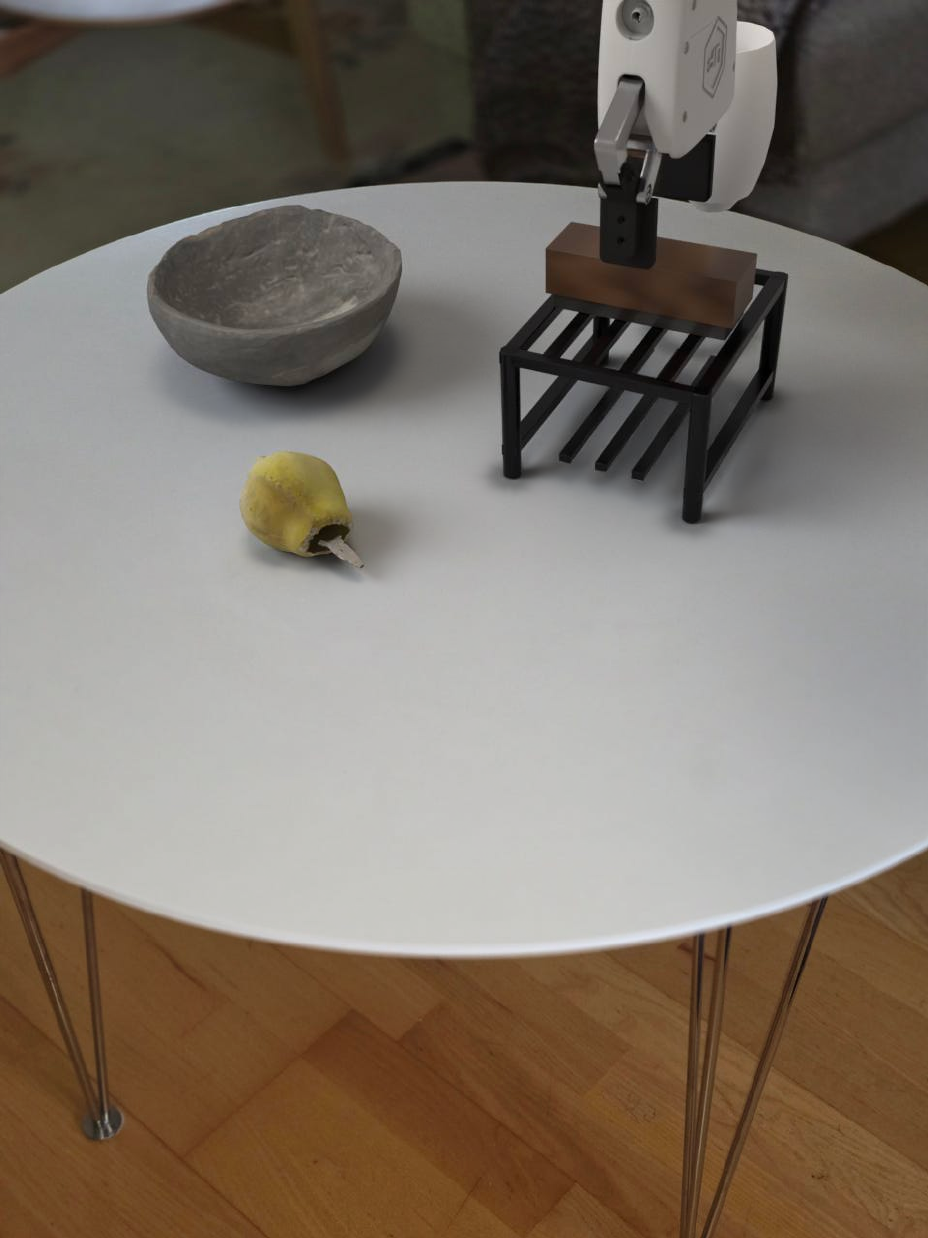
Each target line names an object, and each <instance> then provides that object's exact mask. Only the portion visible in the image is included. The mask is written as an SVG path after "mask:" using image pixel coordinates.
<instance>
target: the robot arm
mask: <svg viewBox="0 0 928 1238" xmlns="http://www.w3.org/2000/svg"><path fill="white" fill-rule="evenodd" d="M737 21H738V0H602V7H601V22H600V36H599V53H598V72H597V73H598V75H597V77H598V78H597V127H598V128H597V129H598V131H597V133H596V135H595V139H594V143H593V152H594V155H595V161H596V165H597V166H596V168H595V173H596V175H595V177H596V179H597V183H598V185H597V197H598V198H599V227H600V252H599V256H600V259H601V260H602V261H603V262H604V263H609V264H615V265H621V266H627V267H633V268H639V269H645V270H648V269H650V268H652V266H653V265H654V264H655V262H656V249H657V236H658V222H659V221H658V220H659V198H658V197H653V193H654V190H655V185H656V182H657V178H658V174H659V191H658V192H659V194H660V195H661V196H662V197H664V198H668V199H669V198H670V199H675V200H676V199H677V200H683V201H688V200H689V201H696V202H707V201H708V200H709V199H710V198H711V196H712V188H713V173H714V159H715V144H716V135H712V134H707V133H708V132H712V133H714V132H715V130H716V127H717V123H718V121H719V120H720V119H721V117H722V116H723V115H724V114H725V113H726V111H727V110H728V109H729V107H730V105H731V103H732V100H733V96H734V86H735V64H736V34H737ZM631 135H639V136H640V135H641V136H649V137H651V139H652V140H646V139H645V140H644V139H637V138H630V136H631ZM628 157H633V158H642V159H644V160H643V165H642V169H641V172H640V174H639V172H638V171H637V169H636V167H635V165H634V164H633V163H632V162H627V161H628V160H627V159H628ZM689 201H688V202H689Z"/></svg>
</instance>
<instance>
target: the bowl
mask: <svg viewBox="0 0 928 1238" xmlns="http://www.w3.org/2000/svg"><path fill="white" fill-rule="evenodd" d="M402 273H403V259H402V252H401V248H399V247H398V246H397V245H396V244H395V243H394V242H392V241H390V240H389V239H388V237H387V236H385V235H384V234H382V233H381V232H380V231H378V230H377V229H376V228H375V227H372V226H371V225H369V224H365V223H364V222H362V221H360V220H358V219H355V218H353V217H349V216H346V215H343V214H340V213H339V214H338V213H333V212H329V211H326V210H323V209H321V208H313V209H311V208H309V207H306V206H303V205H300V204H291V205H289V204H288V205H287V204H286V205H280V206H275V207H271V208H265V209H260V210H258V211H254V212H252V213H250V214H247V215H244V216H239V217H235V218H232V219H229V220H226V221H222V222H221V223H220V224H218V225H217V224H216V225H214V226H210V227H207V228H205V229H204V230H202V231H200V232H199V233H197V234H190V235H187V236H184V237H183V238H181V239H179V240H178V241H176V242H175V243H174V244H173V245H172V246H171V247H169V248H168V249H167V250H166V252H164V254H163V255H162V257H161V260H160V261H159V262H158V263H157V264H156V265H154V267H153V268H152V270H151V271H150V272H149V273H148V277H147V284H146V299H147V305H148V306H147V307H148V310H149V313H150V316H151V319H152V320H153V322H154V324H155V325H156V328H157V329H158V330H159V332H160V333H161V335H162V337H163V338H164V340H165V341H166V342H167V344H168V345H169V346H170V348H171V349H172V350H173V351H174V352H175V353H176V355H177V356H178V357H179V358H181V359H183V360H184V361H185V362H187V363H188V364H189V365H192V366H193V367H194V368H196V369H198V370H201V371H203V372H204V373H207V374H210V375H213V376H215V377H218V378H221V379H225V380H228V381H231V382H232V381H233V382H240V383H249V384H255V385H256V384H257V385H265V386H281V387H293V386H294V387H295V386H301V385H306V384H308V383H310V382H312V381H314V380H317V379H318V378H321V377H323V376H325V375H327V374H329V373H331V372H332V371H334V370H337V369H338V368H340V367H342V366H343V365H346V364H347V363H349V362H351V361H353V360H355V359H356V358H358V357H359V356H360V355H362V354H363V353H364V352H365V351H366V350H367V349H368V348H369V347H370V346H371V345H372V343H374V341H375V339H376V338H377V336H378V335H379V333H380V332H381V331H382V329H383V327H384V325H385V324H386V323H387V321H388V318H389V317H390V316H391V312H392V311H393V307H394V304H395V303H396V299H397V296H398V293H399V288H400V283H401V278H402Z"/></svg>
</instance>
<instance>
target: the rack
mask: <svg viewBox="0 0 928 1238" xmlns="http://www.w3.org/2000/svg"><path fill="white" fill-rule="evenodd" d="M788 283H789V273H786V272H784V271H778V270H776V271H774V270H768V269H763V268H757V267H756V271H755V281H754V286H761V289H760V291H758V294H757V295H756V296H755V298H754V300H753V301H752V303H751V304H749V305H750V306H748V307H747V308H748V309H746V310H745V313H744V314H743V315H742V317H741V318H740V320H739V321H738V323H737V324H736V326H735V327H734V329H733V330H732V332H731V333H730V334H729V336H728V337H727V339H726V340H725V341H724V344H723V345H722V347H721V348H720V350H719V351H718V352H717V354H716V355H714V354H710V355H709V357H708V358H707V360H706V361H705V363H704V364H703V365H702V367H701V369H699V371H698V373H697V374H696V376H695V377H694V379H693V381H691V383H690V384H687V383H682V382H677V380H678V378H679V377H680V375H681V374H682V373H683V371H684V369H686V367H687V365H688V364H689V363H690V361H691V360H692V358H693V357H694V356H695V354H696V352H697V351H698V350H699V348H700V346H701V345H702V344H703V342H704V341H705V340H706V338H707V337H702V336H697V335H692V334H688V335H687V337H686V338H685V339H684V340H683V342H682V343H681V345H680V346H679V348H678V347H677V348H676V349H675V351H674V352H673V353H672V355H671V357H669V359H668V361H667V362H666V363H665V365H664V366H663V367H662V369H660V371H659V373H658V374H657V375H656V377H654V376H650V375H649V376H648V375H644V374H639V372H640V371H641V369H643V367H644V366H645V364H646V363H647V362H648V360H649V359H650V358H651V356H652V355H653V353H654V352H655V350H656V347H657V346H658V344H659V343H660V342H661V341H662V339H663V338H664V336H665V335H666V334H667V333H668V331H669V330H667V329H662V328H657V327H652V326H650V328H649V330H648V331H647V332H646V333H645V335H644V336H643V338H642V339H641V340H640V341H639V343H638V344H637V345H636V346H635V348H634V349H633V350H632V351H631V353H630V354H629V355H628V357H627V358H626V360H624V362H623V363H622V364H621V366H620V367H619V368H618V369H616V368H610V367H607V365H609V363H610V351H611V350H612V348H613V347H614V346H615V344H617V342H618V341H619V339H621V337H622V335H623V334H624V333H625V332H626V331H627V330H628V329H629V327H630V326H631V324H632V323H631V322H626V321H621V320H616V319H613V321H611V318H606V317H601V316H596V315H590V314H585V313H580V312H577V313H576V315H575V316H574V317H573V318H572V319H571V321H570V322H569V323H568V324H567V325H566V326H565V327H564V328H563V330H562V331H561V332H560V333H559V335H557V337H555V339H554V340H553V341H552V342H551V344H549V346H548V347H547V348H546V349H545V351H544V352H543V353H541V352H535V351H530V348H532V346H534V344H535V343H536V342H537V340H538V339H539V338H540V337H541V336H542V335H543V334H544V333H545V331H546V330H547V329H548V328H549V327H550V325H552V323H554V321H555V320H556V319H557V318H558V317H559V315H560V314H561V313H562V312H563V311H564V310H565V309H560V308H555V307H553V294H550V295H549V297H548V298H547V299H546V300H545V301H544V302H543V303H542V304H541V305H540V306H539V308H538V309H537V310H535V312H534V313H533V314H532V315H531V316H530V318H529V319H527V321H526V322H525V323H524V324H523V325H522V326H521V327H520V329H519V330H518V331H517V332H516V333H515V334H514V335H513V336H512V337H511V338H510V339H509V341H508V342H507V343H506V344H505V345H503V346H502V347H500V348H499V351H498V363H499V376H500V377H499V378H500V409H501V410H500V411H501V412H500V413H501V456H502V475H503V477H504V478H506V479H509V480H514V479H518V478H520V477H521V476H522V474H523V472H522V471H523V464H522V457H523V456H522V451H523V450H524V449H525V448H526V446H527V445H528V444H529V442H530V441H532V439H533V437H534V436H535V435H536V434H537V433H538V431H539V430H540V429H541V427H542V426H543V425H544V424H545V423H546V421H547V420H548V419H549V417H550V416H551V415H552V414H553V413H554V412H555V410H556V409H557V408H558V406H559V405H560V403H562V401H563V400H564V399H565V398H566V397H567V395H568V393H570V391H571V390H573V388H574V386H575V385H576V384H577V383H578V381H579V382H584V383H588V384H592V385H597V386H602V387H607V390H606V391H605V392H604V393H603V395H602V396H601V398H600V399H599V400H598V402H597V403H596V404H595V405H594V406H593V408H592V409H591V411H590V412H589V413H588V414H587V416H586V417H585V419H584V420H583V421H582V422H581V424H580V425H579V426H578V428H576V430H575V432H574V433H573V434H572V435H571V437H570V438H569V440H568V441H567V442H566V444H564V446H563V448H562V449H561V450H560V451H559V453H558V462H560V463H564V464H570V465H571V464H572V462H573V461H574V460H575V459H576V457H577V456H578V455H579V453H580V452H581V450H582V449H583V448H584V446H585V445H586V443H587V442H588V441H589V439H590V438H591V437H592V435H593V434H594V433H595V432H596V431H597V430H598V427H599V426H600V425H601V423H602V422H603V421H604V420H605V418H606V417H607V415H608V414H609V412H610V411H611V410H612V408H613V407H614V406H615V405H616V403H617V402H618V401H619V400H620V398H621V397H622V395H623V394H624V393H625V391H626V392H630V393H635V394H640V395H642V396H641V398H639V400H638V402H637V403H636V405H635V406H634V407H633V409H632V410H631V411H630V413H629V414H628V416H627V417H626V419H624V421H623V422H622V423H621V425H620V427H619V428H618V429H617V431H616V432H615V434H614V435H613V436H612V438H611V439H610V440H609V442H608V443H607V444H606V446H605V447H604V449H603V450H602V452H601V453H600V455H599V456H598V457H597V458H596V460H595V461H594V470H595V471H599V472H603V473H607V472H608V470H609V469H610V468H611V466H612V465H613V464H614V462H615V461H616V459H617V458H618V457H619V455H620V454H621V452H622V451H623V450H624V448H625V447H626V446H627V444H628V442H629V441H630V439H631V438H632V437H633V435H635V432H636V431H637V430H638V428H640V426H641V424H642V423H643V421H644V420H645V418H646V417H647V416H648V414H649V413H650V411H651V410H652V408H653V407H654V406H655V404H656V403H657V401H658V400H659V399H662V400H667V401H673V402H677V403H676V405H675V406H674V408H673V410H672V411H671V413H670V414H669V415H668V417H667V418H666V420H665V421H664V422H663V425H662V426H661V427H660V429H659V430H658V431H657V433H656V434H655V435H654V437H653V439H652V440H651V441H650V443H649V445H648V446H647V448H646V449H645V450H644V452H643V453H642V455H641V456H640V458H639V459H638V460H637V462H636V463H635V464H634V466H633V468H632V469H631V473H630V474H631V475H630V479H632V480H636V481H638V482H639V481H640V482H644V481H645V479H646V477H648V475H649V473H650V471H651V470H652V468H653V467H654V466H655V464H656V463H657V461H658V460H659V458H660V456H662V454H663V452H664V451H665V449H666V448H667V446H668V445H669V443H670V442H671V441H672V439H673V437H674V436H675V434H676V433H677V431H678V430H679V428H680V427H681V425H682V424H683V423H684V421H685V419H686V417H688V414H689V417H688V429H687V440H686V453H685V465H684V466H685V467H684V480H683V489H682V490H683V492H682V502H681V503H682V504H681V519H682V521H683V522H685V523H687V524H696V523H699V522H700V521H701V520H702V516H703V505H704V504H703V503H704V494H705V492H706V491H707V489H708V487H709V486H710V484H711V482H712V481H713V479H714V478H715V476H716V474H717V473H718V471H719V469H720V467H721V466H722V464H723V463H724V461H725V459H726V458H727V456H728V454H729V453H730V451H731V450H732V447H733V446H734V444H735V443H736V441H737V440H738V438H739V436H740V435H741V432H742V431H743V429H744V428H745V426H746V425H747V424H748V422H749V419H750V418H751V417H752V414H753V413H754V411H755V410H756V407H757V406H758V404H759V403H760V401H762V402H769V401H771V400H773V399H774V395H775V387H776V380H777V372H778V371H777V370H778V363H779V356H780V346H781V340H782V331H783V323H784V314H785V308H786V300H787V299H786V298H787V291H788ZM590 323H592V334H591V336H590V337H589V338H588V339H587V341H585V343H584V344H582V347H580V349H579V350H578V351H577V352H576V354H575V355H574V356H573V358H572V359H568V358H564V357H563V355H564V354H565V353H566V352H567V351H568V349H569V348H570V347H571V346H572V345H573V344H574V342H575V341H576V340H577V338H578V337H579V336H580V335H581V334H582V333H583V331H584V330H585V329H586V328H587V326H588V325H589V324H590ZM762 324H763V326H762V333H761V334H762V335H761V344H760V353H759V361H758V369H757V371H756V372H755V373H754V375H753V376H752V378H751V380H750V382H749V383H748V385H747V386H746V388H745V389H744V391H743V393H742V394H741V396H740V398H739V399H738V400H737V402H736V404H735V406H734V407H733V409H732V410H731V411H730V413H729V415H728V417H727V418H726V420H725V421H724V423H723V425H722V426H721V428H720V429H719V431H718V432H717V434H716V436H715V438H714V439H713V441H712V442H711V444H710V445H709V437H710V436H709V435H710V427H711V415H712V405H713V404H712V403H713V399H714V397H715V396H716V394H717V392H718V390H720V388H721V386H722V385H723V383H724V382H725V380H726V379H727V377H728V376H729V374H730V373H731V371H732V369H734V367H735V365H736V364H737V362H738V360H739V359H740V357H741V356H742V354H743V352H744V351H745V350H746V348H747V347H748V345H749V344H750V342H751V340H752V339H753V337H754V336H755V334H756V333H757V331H758V330H759V328H760V327H761V325H762ZM521 369H523V370H529V371H533V372H538V373H542V374H547V375H552V376H557V377H556V378H555V379H554V380H553V382H552V383H551V384H550V385H549V386H548V388H547V389H546V390H545V391H544V392H543V394H542V395H541V396H540V397H539V398H538V400H537V401H536V402H535V403H534V405H532V407H531V408H530V409H529V411H528V412H527V413H526V414H525V416H524V417H523V418H522V406H521V405H522V403H521V401H522V399H521V398H522V397H521Z"/></svg>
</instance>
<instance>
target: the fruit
mask: <svg viewBox="0 0 928 1238" xmlns="http://www.w3.org/2000/svg"><path fill="white" fill-rule="evenodd" d="M246 478H247V479H246V480H245V483H244V485H243V487H242V490H241V493H240V498H239V510H240V515H241V519H242V521H243V524H244V525H245V527H246V528H247V530H248V531H249V532H250V533H251V534H252V535H253V536H254V537H256V538H257V539H258V540H259V541H261V542H262V544H265V545H267V546H269V547H271V548H272V549H275V550H278V551H283V552H288V553H294V554H296V555H298V556H300V557H305V558H307V557H308V558H310V557H314V556H318V555H327V554H331V553H333V554H334V555H335V556H336V557H338V558H339V559H340V560H341V561H344V562H347V563H349V564H350V565H351V566H354V567H356V568H358V569H362V568H364V566H365V564H364V562H363V561H362V560H361V559H360V557H359V556H358V554H357V553H356V552H355V551H354V550H353V549H352V548H351V547H350V546H349V544H347V543H345V541H347V539H348V538H349V536H350V535H351V534H352V533H353V530H354V518H353V515H352V512H351V511H350V509H349V506H348V503H347V500H346V495H345V493H344V490H343V488H342V485H341V482H340V479H339V477H338V475H337V473H336V471H335V470H334V468H332V466H331V465H330V464H329V463H328V462H327V461H325V460H324V459H321V458H320V457H317V456H315V455H311V454H308V453H303V452H299V451H286V450H284V451H283V450H282V451H278V452H274V453H271V454H269V455H267V456H265V455H262V456H261V455H260V456H258V457H256V458H255V460H254V462H253V464H252V465H251V466H250V469H249V471H248V473H247V476H246Z"/></svg>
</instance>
